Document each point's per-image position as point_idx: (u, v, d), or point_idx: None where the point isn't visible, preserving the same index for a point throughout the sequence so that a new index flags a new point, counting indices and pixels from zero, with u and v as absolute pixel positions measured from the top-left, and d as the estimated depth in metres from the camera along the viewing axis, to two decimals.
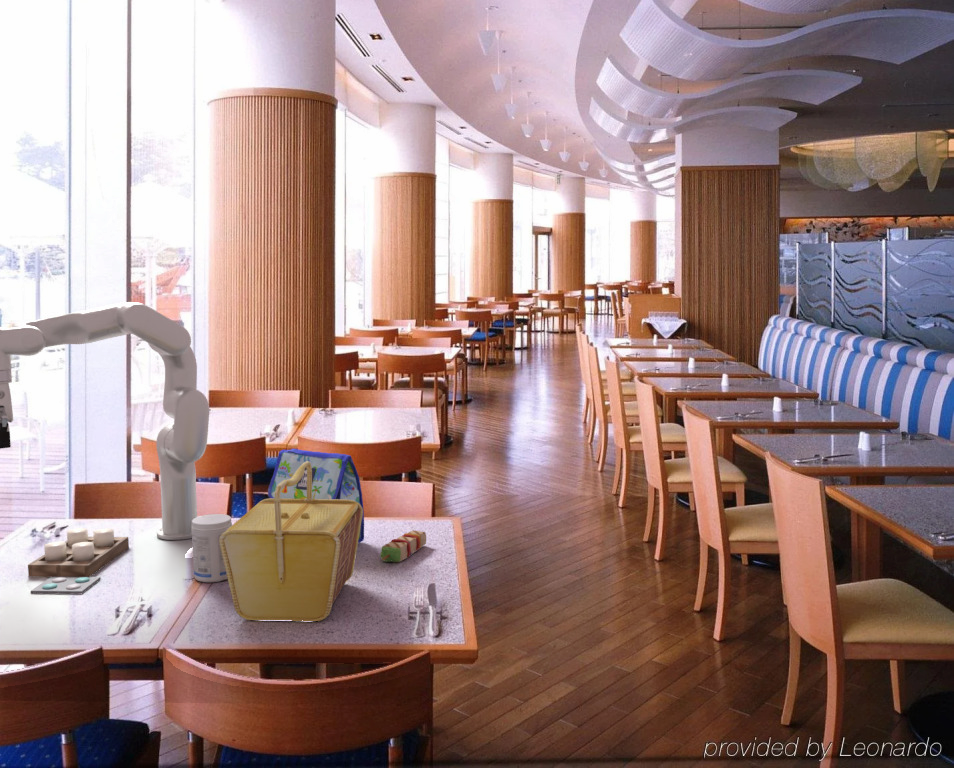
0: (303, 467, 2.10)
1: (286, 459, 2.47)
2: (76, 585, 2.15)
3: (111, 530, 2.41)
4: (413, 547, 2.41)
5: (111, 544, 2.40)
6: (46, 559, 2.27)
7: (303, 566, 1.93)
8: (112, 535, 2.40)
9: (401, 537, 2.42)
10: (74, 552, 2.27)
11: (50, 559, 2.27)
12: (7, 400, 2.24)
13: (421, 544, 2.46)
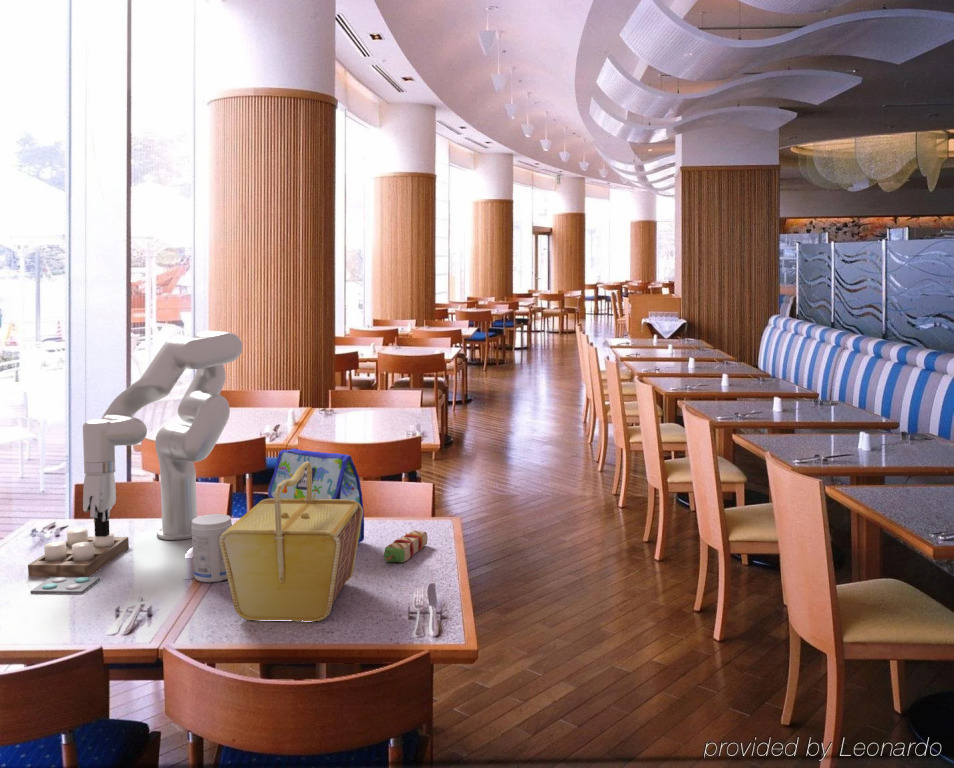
0: (303, 467, 2.10)
1: (286, 459, 2.47)
2: (76, 585, 2.15)
3: (111, 534, 2.41)
4: (415, 547, 2.41)
5: None
6: (46, 559, 2.27)
7: (303, 566, 1.93)
8: (112, 539, 2.40)
9: (403, 537, 2.42)
10: (74, 552, 2.27)
11: (50, 559, 2.27)
12: None
13: (423, 544, 2.46)
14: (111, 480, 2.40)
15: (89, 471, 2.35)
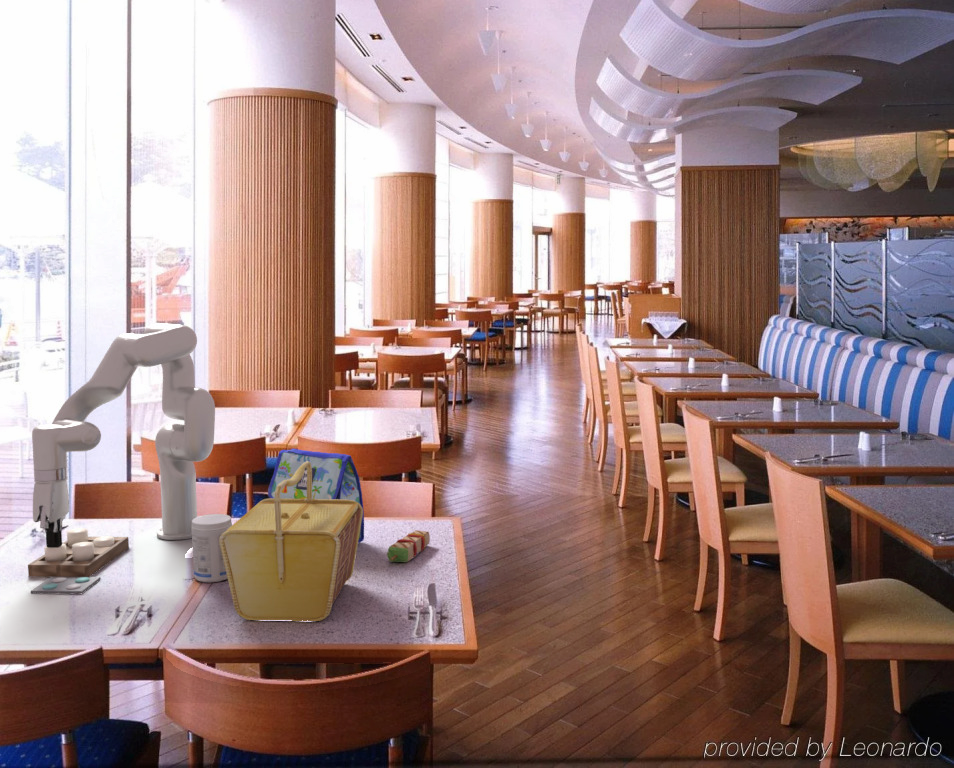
0: (303, 467, 2.10)
1: (286, 459, 2.47)
2: (76, 585, 2.15)
3: (111, 538, 2.41)
4: (418, 547, 2.41)
5: None
6: None
7: (303, 566, 1.93)
8: (112, 543, 2.41)
9: (406, 537, 2.42)
10: (74, 552, 2.27)
11: None
12: None
13: (425, 544, 2.46)
14: (63, 488, 2.28)
15: (39, 479, 2.23)
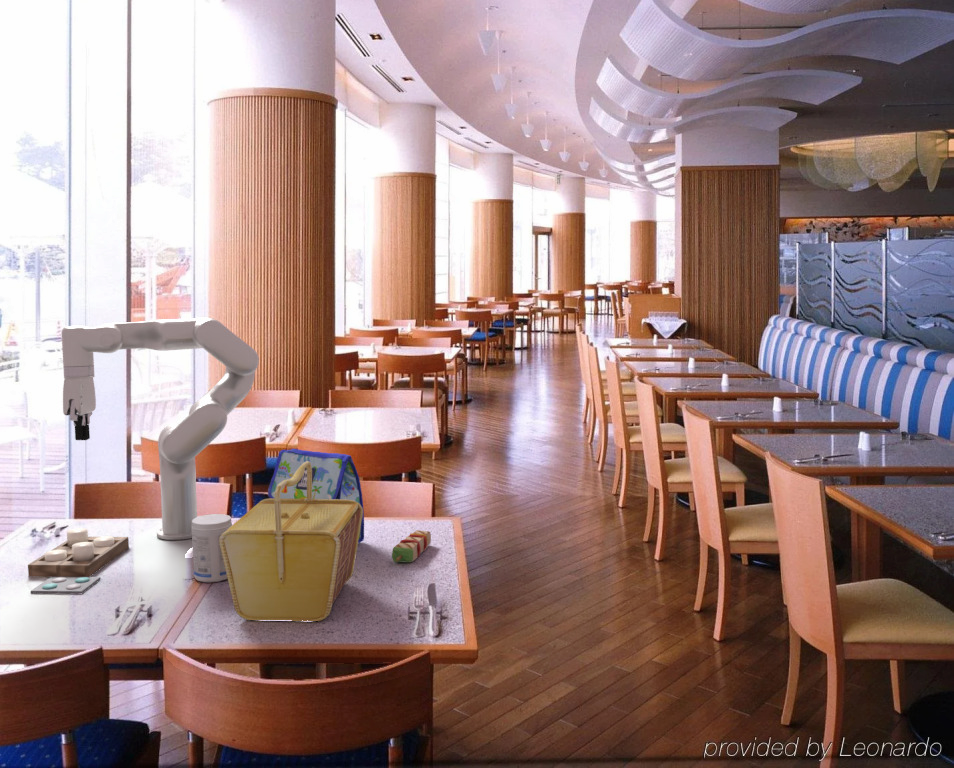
0: (303, 467, 2.10)
1: (286, 459, 2.47)
2: (76, 585, 2.15)
3: (111, 538, 2.41)
4: (421, 547, 2.41)
5: None
6: None
7: (303, 566, 1.93)
8: (112, 543, 2.41)
9: (409, 537, 2.42)
10: (74, 552, 2.27)
11: None
12: None
13: (427, 544, 2.46)
14: (90, 385, 2.46)
15: (68, 375, 2.41)
